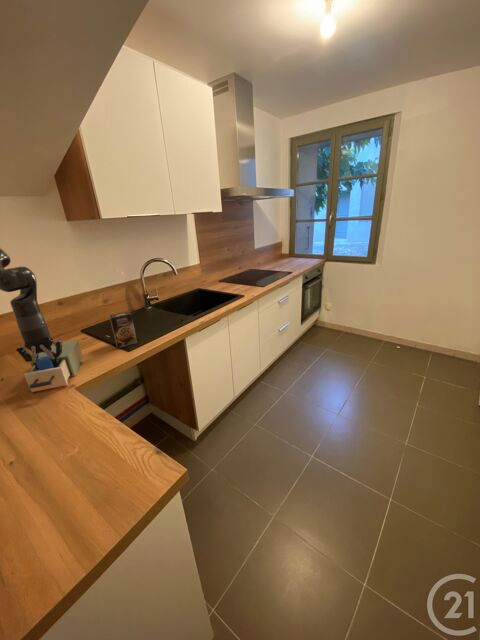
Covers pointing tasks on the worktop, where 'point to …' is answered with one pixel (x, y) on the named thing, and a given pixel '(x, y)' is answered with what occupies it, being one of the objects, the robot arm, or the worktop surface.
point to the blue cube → (44, 363)
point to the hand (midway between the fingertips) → (48, 368)
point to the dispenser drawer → (48, 377)
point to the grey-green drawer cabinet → (68, 355)
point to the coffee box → (123, 329)
